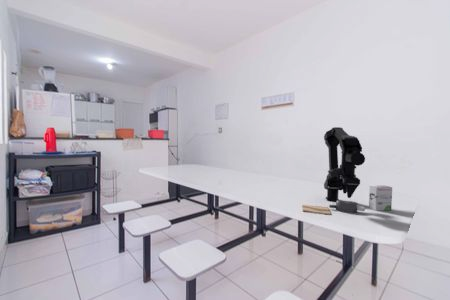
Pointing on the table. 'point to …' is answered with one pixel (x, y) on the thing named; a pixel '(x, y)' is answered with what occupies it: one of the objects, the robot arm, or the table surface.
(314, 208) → the light brown wooden board
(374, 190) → the ink box
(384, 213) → the table surface
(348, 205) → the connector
